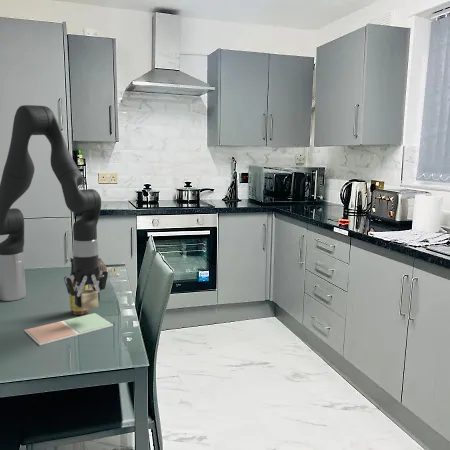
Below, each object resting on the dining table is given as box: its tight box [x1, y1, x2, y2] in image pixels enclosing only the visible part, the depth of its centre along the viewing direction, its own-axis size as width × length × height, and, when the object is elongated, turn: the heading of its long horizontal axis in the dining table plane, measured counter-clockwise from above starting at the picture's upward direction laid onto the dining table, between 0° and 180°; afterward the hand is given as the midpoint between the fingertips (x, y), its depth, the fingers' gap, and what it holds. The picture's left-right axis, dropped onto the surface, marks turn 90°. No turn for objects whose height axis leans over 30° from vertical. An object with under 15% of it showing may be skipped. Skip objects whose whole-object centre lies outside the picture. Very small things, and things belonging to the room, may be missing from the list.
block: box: [78, 288, 100, 311], centre depth 142 cm, size 5×5×5 cm
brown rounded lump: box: [96, 257, 108, 281], centre depth 192 cm, size 7×7×9 cm
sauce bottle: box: [68, 255, 90, 316], centre depth 152 cm, size 7×6×20 cm
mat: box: [24, 312, 114, 346], centre depth 140 cm, size 13×23×1 cm, turn 131°
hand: (87, 304), depth 143 cm, fingers closed on block, 5 cm apart
